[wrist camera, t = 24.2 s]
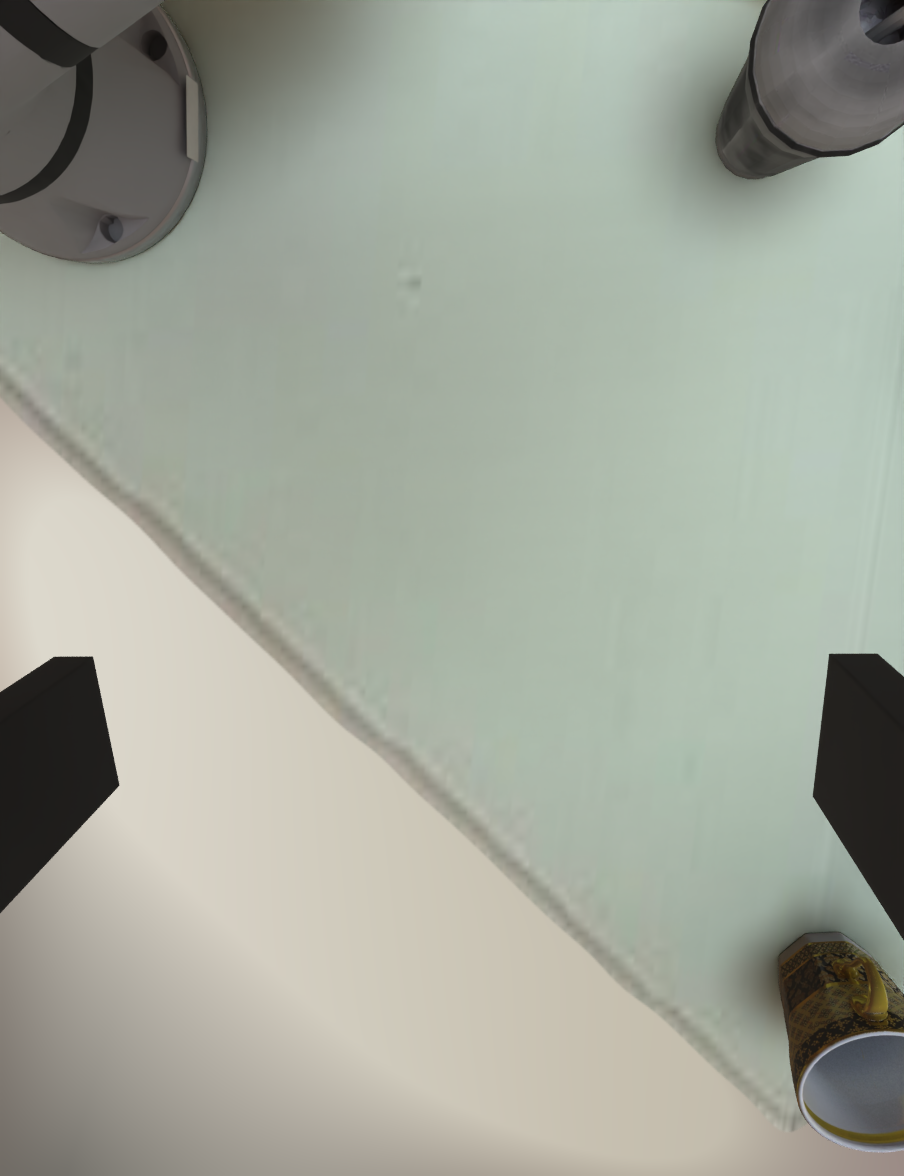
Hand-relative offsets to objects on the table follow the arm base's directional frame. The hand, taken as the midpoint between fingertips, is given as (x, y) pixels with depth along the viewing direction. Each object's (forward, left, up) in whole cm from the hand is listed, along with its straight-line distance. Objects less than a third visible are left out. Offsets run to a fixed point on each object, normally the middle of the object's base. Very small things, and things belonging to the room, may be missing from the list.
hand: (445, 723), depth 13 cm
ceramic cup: (+36, -24, -35) cm, 56 cm away
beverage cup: (+6, +21, -35) cm, 41 cm away
